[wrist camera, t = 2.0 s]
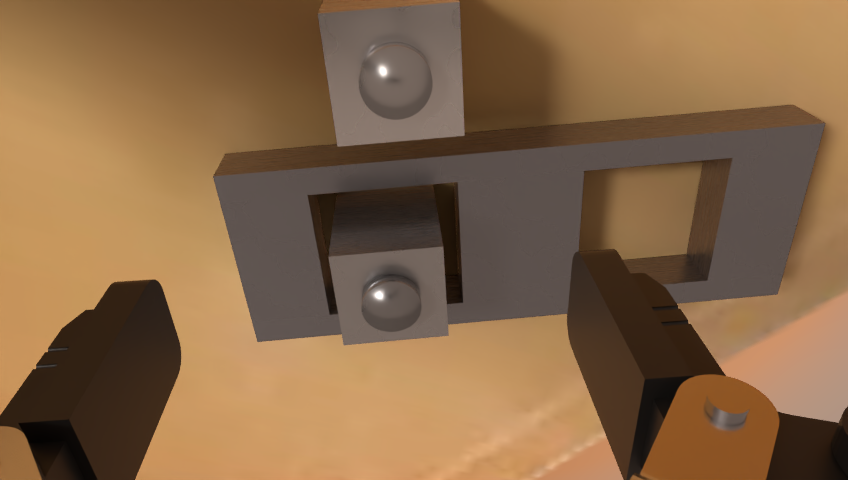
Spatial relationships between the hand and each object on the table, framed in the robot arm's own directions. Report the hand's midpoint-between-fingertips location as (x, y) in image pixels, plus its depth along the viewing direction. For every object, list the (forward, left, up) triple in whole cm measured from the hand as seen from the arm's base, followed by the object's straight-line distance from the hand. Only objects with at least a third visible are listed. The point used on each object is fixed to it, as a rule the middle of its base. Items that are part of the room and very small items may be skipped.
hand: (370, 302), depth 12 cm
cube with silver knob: (-1, +1, -17) cm, 17 cm away
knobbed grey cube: (+8, 0, -17) cm, 18 cm away
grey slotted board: (+8, +6, -17) cm, 19 cm away
